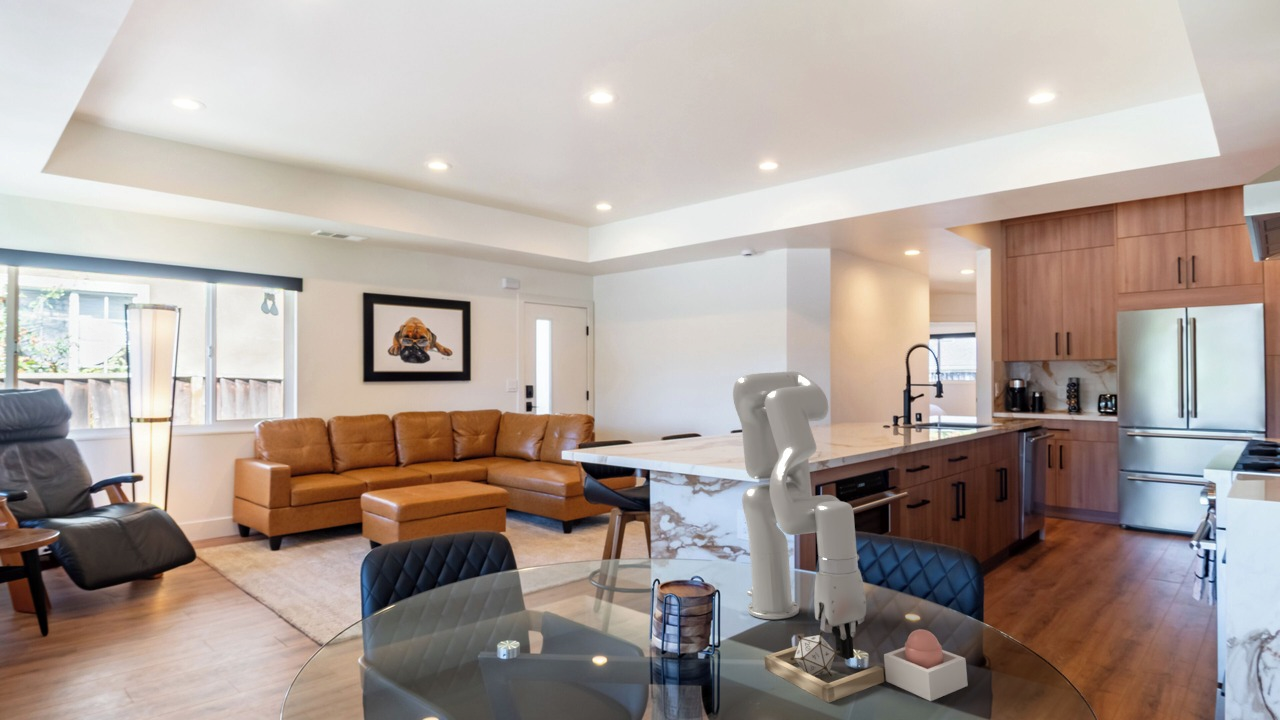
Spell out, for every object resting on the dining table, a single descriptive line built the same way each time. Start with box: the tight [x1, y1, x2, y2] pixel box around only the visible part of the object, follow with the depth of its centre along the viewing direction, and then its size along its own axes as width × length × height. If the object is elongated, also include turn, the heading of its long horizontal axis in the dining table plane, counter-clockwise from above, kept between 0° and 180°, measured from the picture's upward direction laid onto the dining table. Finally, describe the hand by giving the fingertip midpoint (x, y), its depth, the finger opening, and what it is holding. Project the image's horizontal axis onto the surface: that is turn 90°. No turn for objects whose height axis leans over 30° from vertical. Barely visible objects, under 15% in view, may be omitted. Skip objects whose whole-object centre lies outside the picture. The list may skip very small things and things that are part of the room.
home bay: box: [763, 645, 885, 704], centre depth 133 cm, size 18×14×2 cm
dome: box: [904, 628, 943, 669], centre depth 126 cm, size 6×6×6 cm
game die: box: [790, 630, 840, 678], centre depth 133 cm, size 9×8×10 cm
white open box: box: [883, 646, 968, 702], centre depth 126 cm, size 10×10×5 cm
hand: (845, 656), depth 136 cm, fingers closed
